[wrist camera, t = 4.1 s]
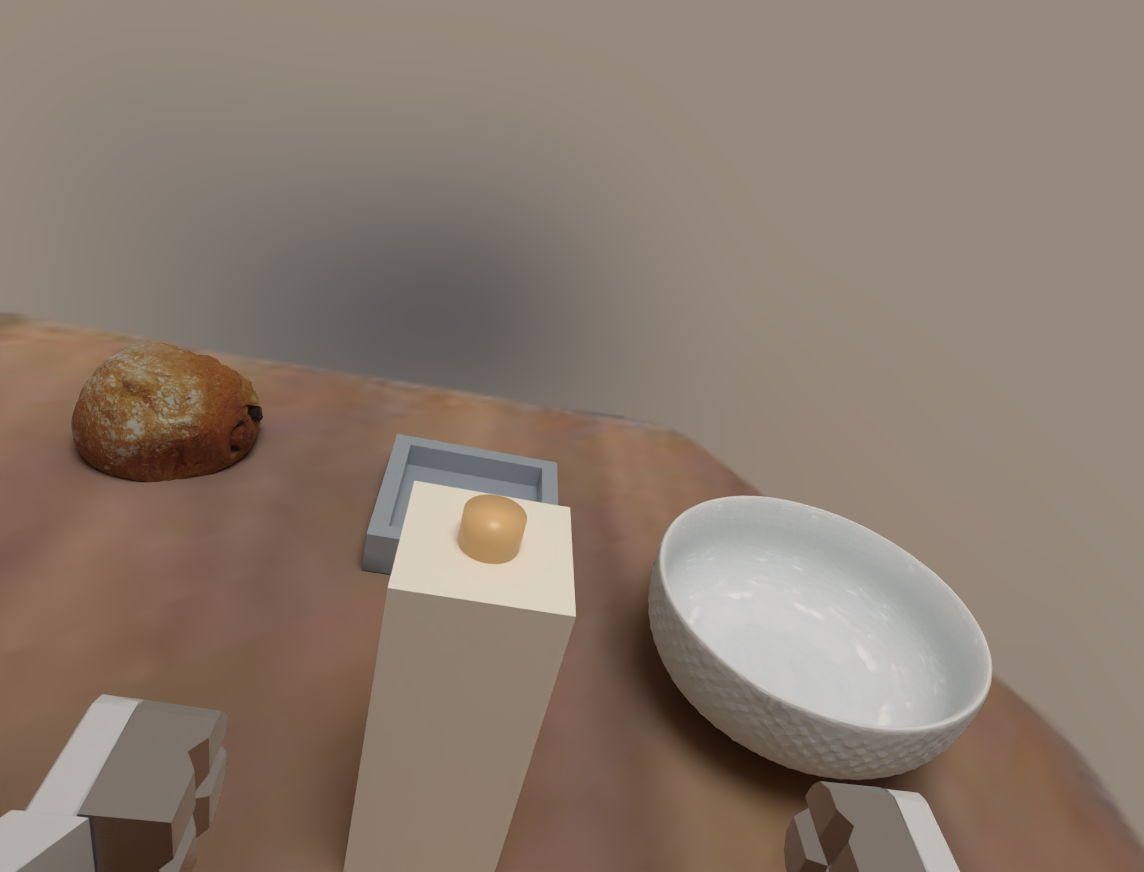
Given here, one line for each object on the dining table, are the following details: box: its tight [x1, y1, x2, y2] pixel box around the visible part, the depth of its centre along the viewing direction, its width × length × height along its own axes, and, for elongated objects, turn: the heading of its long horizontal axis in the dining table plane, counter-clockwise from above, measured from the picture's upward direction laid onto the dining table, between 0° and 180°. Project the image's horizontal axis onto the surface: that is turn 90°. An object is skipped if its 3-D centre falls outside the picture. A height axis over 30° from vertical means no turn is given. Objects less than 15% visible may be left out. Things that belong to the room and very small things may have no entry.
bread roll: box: [72, 341, 263, 482], centre depth 48 cm, size 10×10×8 cm
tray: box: [362, 434, 558, 574], centre depth 48 cm, size 10×10×2 cm
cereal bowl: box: [648, 496, 992, 780], centre depth 41 cm, size 17×17×7 cm
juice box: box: [343, 481, 576, 872], centre depth 28 cm, size 6×6×15 cm
